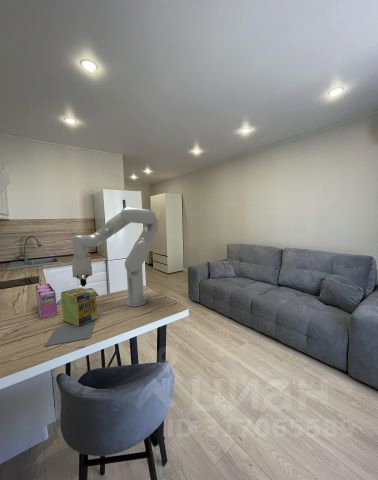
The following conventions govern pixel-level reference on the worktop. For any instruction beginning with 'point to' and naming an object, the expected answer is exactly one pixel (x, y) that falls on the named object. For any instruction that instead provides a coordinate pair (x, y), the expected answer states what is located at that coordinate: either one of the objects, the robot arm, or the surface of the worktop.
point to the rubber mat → (70, 334)
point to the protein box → (79, 306)
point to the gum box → (46, 301)
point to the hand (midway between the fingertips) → (83, 285)
